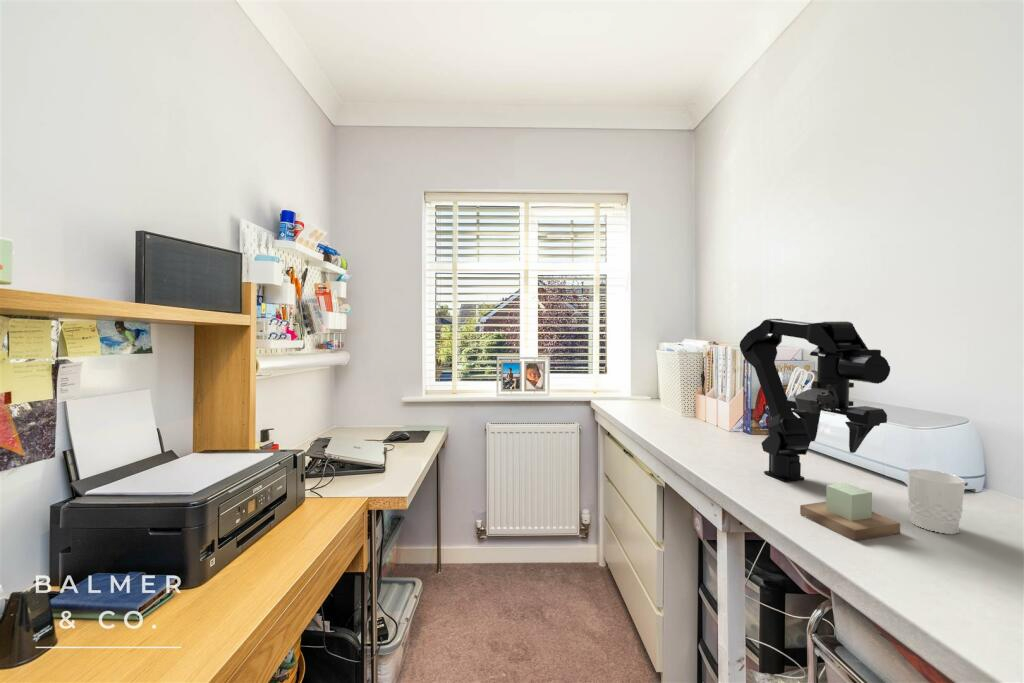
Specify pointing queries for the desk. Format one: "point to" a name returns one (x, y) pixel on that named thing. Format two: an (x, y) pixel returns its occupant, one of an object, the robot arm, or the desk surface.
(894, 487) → the desk surface
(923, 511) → the white cup
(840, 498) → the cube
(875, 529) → the base slab
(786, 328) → the robot arm
